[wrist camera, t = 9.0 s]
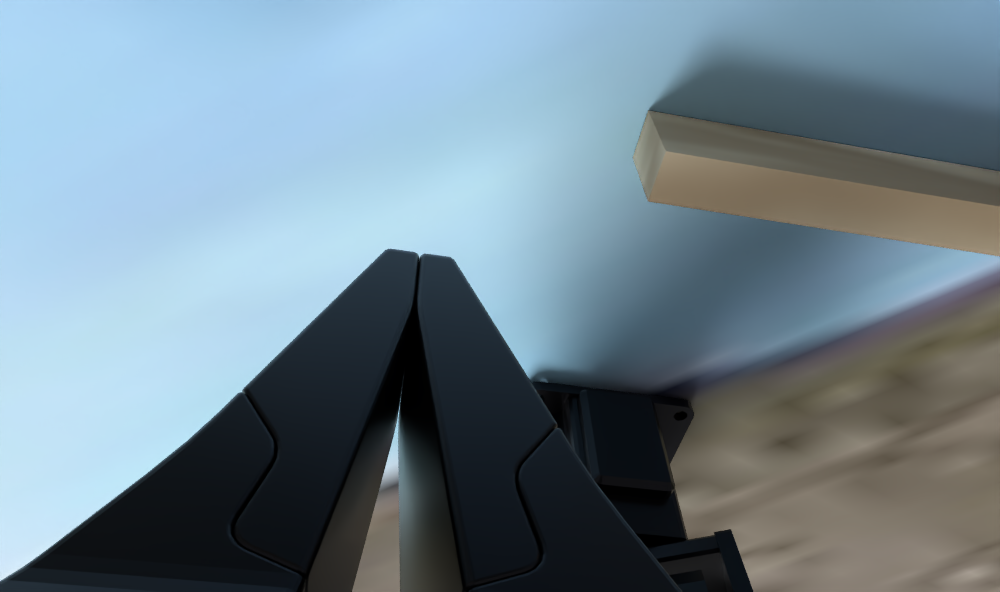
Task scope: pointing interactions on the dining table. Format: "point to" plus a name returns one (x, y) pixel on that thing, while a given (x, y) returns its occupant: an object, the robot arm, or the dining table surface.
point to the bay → (818, 183)
